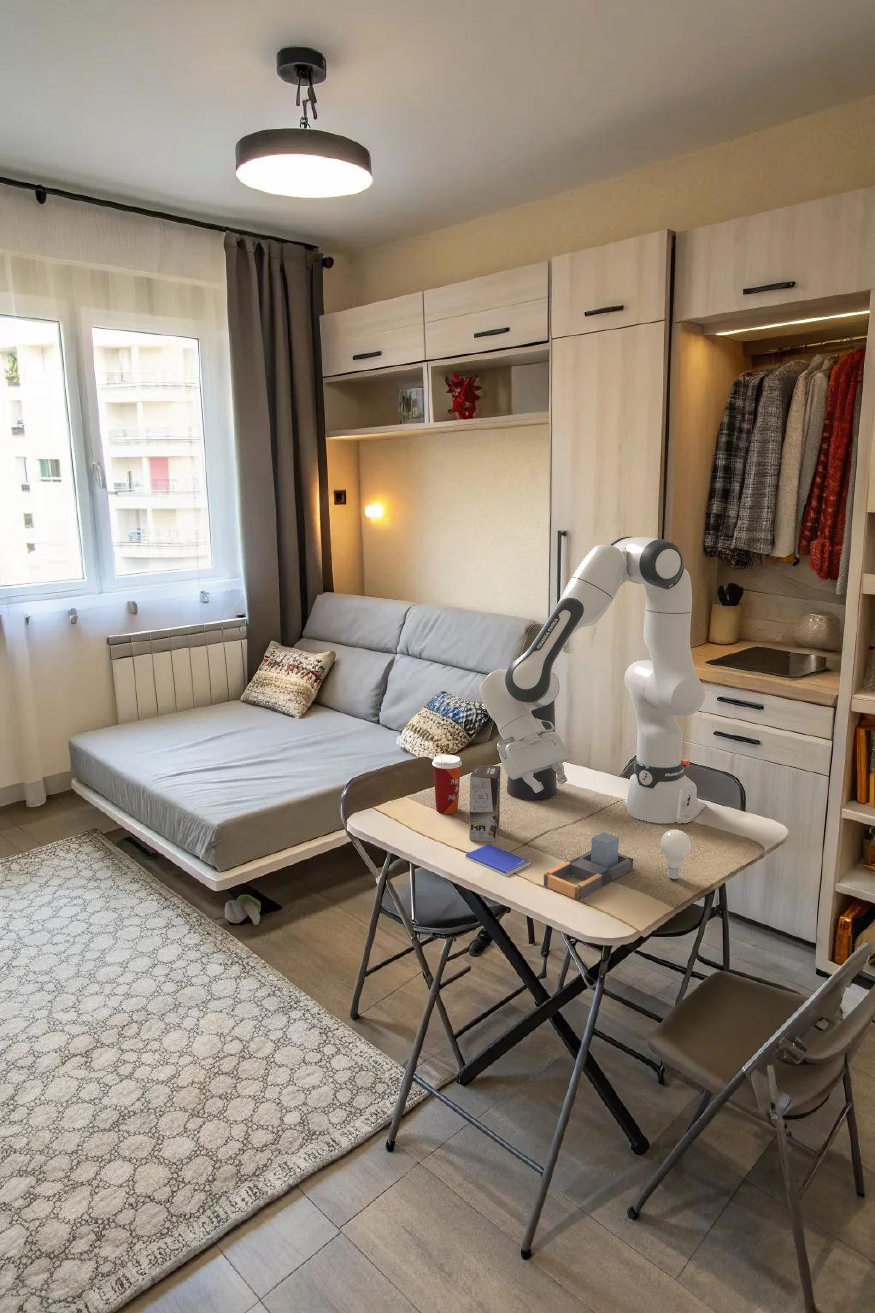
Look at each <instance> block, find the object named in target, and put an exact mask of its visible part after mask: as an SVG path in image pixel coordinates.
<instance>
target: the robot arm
mask: <svg viewBox="0 0 875 1313" xmlns="http://www.w3.org/2000/svg"><path fill="white" fill-rule="evenodd" d="M626 581H628V582H630V583H634V584H638V585H639V584H640V585H641V584H642V585H643V586H644V588H645V593H646V597H645V605H644V619H643V620H644V621H643V637H642V638H643V642H644V645H645V646H646V648H647V650H648V652H649V656H650V659H640V660H637V661H634V662H633V663H632V664H630V665H629V666H628V668H626V671H625V673H624V680H623V681H624V682H623V683H624V687H625V689H626V690H627V692H628V693H629V696H630V699H631V701H632V707H633V711H634V716H635V721H636V723H635V724H636V732H637V737H636V738H637V739H636V757H635V758H634V762H633V774H632V775H630V778H629V782H628V783H629V786H628V793H627V798H625V799H623V805H624V807H626V811H627V813H628V814H629V815H630V816H631V817H632V818H634V819H637V820H639V819H640V821H643V820H644V821H643V822H646V821H647V823H652V822H653V823H654V824H675V823H674V822H677V823H676V824H681V823H688V822H690V821H691V820H692V819H693V820H694V819H695V818H696V817H697V816H698V815H699V814H700V813H701V812H702V811H703V810H704V809H705V808H706V806H705V805H707V804H706V801H704V800H703V799H700V798H698V797H697V793H698V792H697V791H698V788H697V784H696V783H695V782H693V780H691V779H690V778H689V777H687V775H686V774H685V773H686V772H685V768H686V769H688V768H689V766H690V764H691V762H690V760H688V759H684V758H683V757H682V754H683V741H684V740H683V737H684V735H683V731H682V728H681V726H680V724H679V722H678V720H677V718H676V717H677V716H679V717H681V716H682V717H683V716H684V717H689V716H692V715H694V714H696V713H697V712H698V711H699V710H700V709H701V708H702V706H703V704H704V703H705V699H706V690H705V687H704V685H703V683H702V681H701V680H700V678H699V677H698V673H697V671H696V667H695V663H694V659H693V655H692V648H691V626H692V625H691V624H692V609H693V594H692V593H693V589H692V582H691V575H690V573H689V571H688V570H687V569H686V568H685V567H684V557H683V555H682V551H681V550H680V548H679V547H678V546H677V545H676V544H675V543H673V542H671V541H669V540H666V539H664V538H663V539H661V538H660V539H658V538H656V537H652V536H651V537H650V536H636V537H633V536H623V537H620V538H618V539H615V540H613V541H612V542H611V543H610V544H605V543H602V544H597V545H595V546H593V548H592V549H591V550H590V551H589V552H588V553H587V554H586V556H584V557H583V559H582V560H581V562H579V565H578V566H577V567H576V568H575V571H574V572H573V574H572V575H571V578H570V579H569V580H568V583H567V584H566V587H565V588H564V590H563V593H562V595H561V597H560V599H559V600H558V602H557V604H556V606H555V608H554V610H553V611H552V612H551V614H550V616H549V617H548V619H546V622H545V623H544V624H543V626H542V628H541V630H540V631H539V633H538V634H537V635H536V637H535V639H534V640H533V641H532V644H531V645H530V646H529V648H528V649H527V650H526V651H525V652H524V653H523V654H522V655H520V656H519V657H517V658H516V659H515V660H513V661H512V663H511V664H510V665H509V666H508V668H507V669H504V668H503V669H502V668H498V669H495V670H493V671H491V672H490V673H488V674H487V675H486V676H485V677H483V679H482V680H481V682H480V684H479V688H478V689H479V690H478V691H479V697H480V699H481V701H482V704H483V706H484V708H485V710H486V711H487V713H488V715H489V716H490V718H491V719H492V720H493V721H494V722H495V724H496V726H497V730H498V732H499V735H500V736H501V739H499V740H498V742H497V745H496V749H497V752H498V754H499V759H500V761H501V764H502V766H503V770H504V771H505V772H506V774H507V777H508V776H509V777H510V778H511V779H513V780H514V779H517V778H520V777H522V778H523V780H524V781H525V782H526V783H527V784H529V785H530V786H531V787H532V788H533V790H534V792H535V793H537V792H540V791H541V790H543V789H544V787H543V786H542V784H541V782H538V781H537V780H536V779H535V778H534V777H533V776H534V775H533V773H536V772H539V771H542V770H545V769H548V768H551V767H552V768H553V770H554V771H556V780H557V781H556V782H557V783H558V784H559V785H563V784H564V783H566V782H568V777H567V776H566V774H565V768H564V764H563V763H565V762H566V761H568V760H569V758H570V754H569V751H568V749H567V747H566V746H565V743H564V742H563V740H562V738H561V737H560V735H559V734H558V733H557V732H556V731H555V732H553V730H554V726H553V724H552V723H551V722H549V721H544V720H540V719H537V718H534V716H533V715H532V713H531V711H532V710H535V709H538V708H540V707H543V706H546V705H548V704H550V703H551V702H553V701H554V700H556V698H557V697H558V695H559V692H560V681H559V678H558V676H557V675H556V674H555V673H554V672H553V671H552V670H553V665H554V664H555V662H556V660H557V658H558V657H559V655H560V654H561V652H562V650H563V649H564V648H565V646H566V645H567V643H568V641H569V639H570V638H571V637H573V635H574V634H575V633H576V632H577V631H579V630H581V629H582V628H583V629H584V628H586V627H590V626H594V625H595V624H597V623H598V621H600V620H601V619H602V617H603V616H604V615H605V614H606V612H607V611H608V609H609V608H610V606H611V605H612V603H613V601H614V599H615V597H616V595H617V593H618V592H619V589H620V587H621V586H623V585H624V583H626ZM704 807H705V808H704ZM703 808H704V809H703ZM702 809H703V810H702ZM701 810H702V811H701ZM700 811H701V812H700ZM699 812H700V813H699ZM698 813H699V814H698ZM697 814H698V815H697ZM696 815H697V816H696ZM695 816H696V817H695ZM694 817H695V818H694ZM693 820H692V821H693ZM692 821H691V822H692ZM691 822H690V823H691ZM688 824H689V823H688Z"/></svg>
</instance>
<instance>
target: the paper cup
mask: <svg viewBox="0 0 875 1313" xmlns="http://www.w3.org/2000/svg"><path fill="white" fill-rule="evenodd" d="M431 764H432V766H433V780H434V781H433V782H434V797H435V800H434V801H435V810H436V812H437V813H439V814H441V813H443V815H453V814H455V813H457V812H458V809H459V797H460V785H461V784H460V781H461V767H462V765H463V763H462V761H461V758H460V756H457V755H453V754H441V755H437V756H435V757H434V758H433V760H432V763H431Z"/></svg>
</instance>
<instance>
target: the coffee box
mask: <svg viewBox="0 0 875 1313" xmlns="http://www.w3.org/2000/svg"><path fill="white" fill-rule="evenodd" d="M469 778H470V779H469V780H470V783H469V832H468V833H469V834H468V835H469V836H468V838H469V840H470V841H476V842H486V843H487V842H488V843H494V842H495V841H496V839H497V836H498V832H499V830H500V818H501V817H500V816H501V814H500V813H501V812H500V811H501V810H500V809H501V806H500V804H501V801H500V800H501V765H488V764H487V765H486V764H484V765H482V764H481V765H480V764H475V766H474V768H473V770H472V772H471V774H470V777H469Z"/></svg>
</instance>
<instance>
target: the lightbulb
mask: <svg viewBox="0 0 875 1313" xmlns="http://www.w3.org/2000/svg"><path fill="white" fill-rule="evenodd" d="M659 844H660V846H659V847H660V850H661V852H662V854H663V855H664V858H665V862H666V865H667V870H666V871H667V873H666V876H667V877H668V878H670V879H671V878H672V880H678V879H680V878H681V868H682V865H683V862H684V860H685V859H686V858H687V857H688V855H689V854H690V852H691V849H692V841H691V839H690V837H689V836H688V834H687V833H685V832H684V831H682V830H680V829H669V830H667V831H666V832H664V833H663V834H662V836H661V839H660V841H659Z"/></svg>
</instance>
